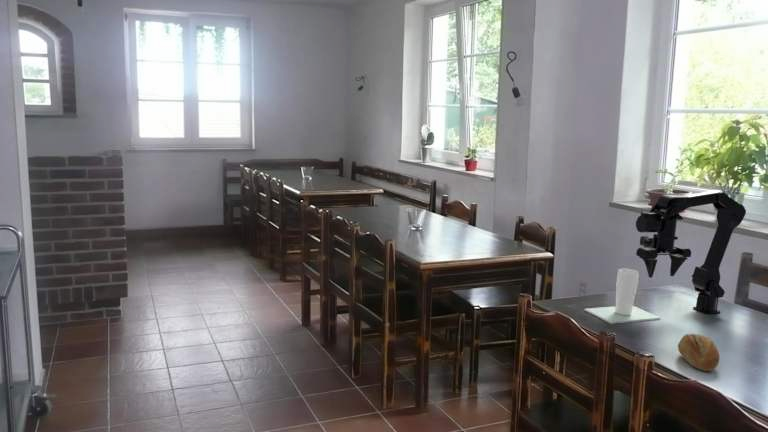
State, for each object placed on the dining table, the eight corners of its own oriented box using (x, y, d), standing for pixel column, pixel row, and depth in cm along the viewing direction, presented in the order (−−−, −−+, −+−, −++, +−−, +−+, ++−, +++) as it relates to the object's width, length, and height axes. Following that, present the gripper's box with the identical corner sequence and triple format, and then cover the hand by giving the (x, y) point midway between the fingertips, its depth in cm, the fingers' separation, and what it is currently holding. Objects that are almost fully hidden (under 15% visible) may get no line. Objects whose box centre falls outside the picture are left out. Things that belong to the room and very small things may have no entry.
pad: (631, 306, 232) (631, 305, 232) (660, 319, 219) (660, 317, 219) (584, 310, 226) (584, 308, 226) (610, 323, 213) (610, 322, 213)
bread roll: (688, 373, 175) (692, 345, 174) (669, 352, 190) (672, 326, 188) (725, 376, 174) (729, 347, 173) (703, 354, 189) (707, 328, 188)
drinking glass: (636, 313, 223) (641, 271, 220) (630, 318, 218) (635, 275, 215) (616, 308, 227) (621, 266, 224) (609, 313, 221) (615, 270, 219)
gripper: (670, 227, 232) (665, 269, 235) (627, 228, 226) (623, 272, 228) (694, 233, 221) (689, 277, 224) (650, 234, 215) (645, 280, 218)
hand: (661, 276), depth 224 cm, fingers open, 9 cm apart
